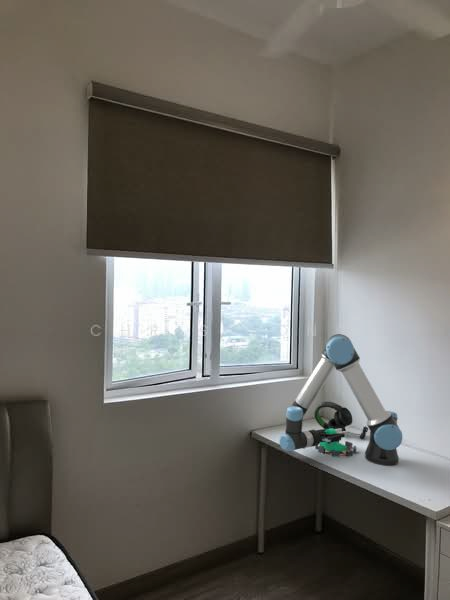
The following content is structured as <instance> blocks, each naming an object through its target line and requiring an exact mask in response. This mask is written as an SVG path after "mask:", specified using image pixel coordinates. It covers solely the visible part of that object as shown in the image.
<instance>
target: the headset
mask: <svg viewBox="0 0 450 600" xmlns="http://www.w3.org/2000/svg"><path fill="white" fill-rule="evenodd" d="M322 408H330V409H334V410H335V412H334V414H333V418H331V419H329V420H328V423H327V422H325V421H324V419H322V417H321V415H320V413H319V412H320V409H322ZM314 418H315V420H316V423H317V424H318V425H319V426H321V428H322V429H329V428H331V429H340V428H341V429H342V432H343V431H347V430H346V427H348V426H351V425H352V423H353V414H352V413H351V411H350V410H349V409H348V408H347V407H345V406H344V407H343V406H341V405H339V404H338V403H335V402H333V401H323V402H320V403H319V404H318V405H317V406H316V408H315V410H314ZM368 431H369V428H368V426H367V425H365V426H363V428H362V432H361V433H355V436H356V435H357V436H358V435H359V439H360V440H364V439H365V438H366V436H367V433H368ZM348 434H352V435H354V433H353V432H350V431H348Z"/></svg>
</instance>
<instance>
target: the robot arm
mask: <svg viewBox="0 0 450 600" xmlns="http://www.w3.org/2000/svg"><path fill="white" fill-rule="evenodd" d="M360 360H361V358H360V356H359V354H358V352H357V351H356V349H355V347H354V345H353V343H352V340H351V339H350V338H349V337H348V336H346V335H345V334H342V333H339V334H338V333H337V334H334V335H332V336H330V337H329V339H328V340H327V343H326V345H325V347H324V349H323V351H322V352H321V358H320V360H319V361H318V363H317V364H316V366H315V368H314V369H313V371H312V373H311V374H310V375H309V377H308V379H307V380H306V382H305V383H304V385H303V387H302V388H301V390H300V391H299V393H298V395H296V396H297V397H296V398H295V399H294V401H293V402H292V404H291V405H290V406H289V407H287V409H286V413H285V432H284V434H281V436H280V438H279V440H278V441H279V446H280V448H281V449H282V450H283V451H285V452H291V451H292V452H293V451H296V450H301V449H303V450H304V449H307V448H312V447H313V448H314V447H315V446H317V445H318V446H319V445H320V444H319V443H320V442H324V441H327V443H328V444H330V443H331V442H336V441H339V442H340V441H342V439H343V438H348V437H349V430H346V431H343V432H342V429H341V428H340V429H335V431H336V434H327V433H326V432H325V431H326V429H324V428H321V429H316V430H315V429H311V430H310V429H309V430H303V423H304V422H303V420H304V417H305V415H306V413H307V412H308V410H309V408H310V407H311V405H312V403H314V401H315V399H316V398H317V395H318V394H319V393H320V391H321V390H322V388H323V386H324V385H325V383H326V382H327V380H328V378H330V376H331V374H332V372H333V371H334V369H335V370H336V371H338V372H340V373H342V375H343V377H344V379H345V381H346V382H347V385H348V386H349V388H350V390H351V392H352V393H353V395H354V396H355V400H356V401H357V402H358V404H359V406H360V408H361V410H362V411H363V413H364V415H365V416H366V418H367V422H366V427H367V428H368V430H369V431H370V432H369V442H368V445H367V446H366V449H365V452H364V458H365V460H367V461H368V462H371V463H374V464H376V465H382V466H396V465H398V464H399V459H400V458H399V455H398V450H397V448H398V447H400V445H402V442H403V432H402V430H401V429H400V426H399V425H398V413H396V412H394V411H391V410H386V409H385V408H384V405H383V404H382V402H381V400H380V399H379V396H378V395H377V393H376V391H375V389H374V387H373V386H372V384H371V383H370V380H369V379H368V377H367V375H366V374H365V372H364V370H363V368H362V367H361V365H360ZM329 429H331V428H329Z"/></svg>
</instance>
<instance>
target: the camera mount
mask: <svg viewBox="0 0 450 600" xmlns="http://www.w3.org/2000/svg"><path fill="white" fill-rule="evenodd" d="M325 432H326V433H327V434H336V431H335V429H326V431H325ZM320 445H322V446H324V448H326V450H328V451H330V452H332V450H335V451H344V450H347V446H345V444H342V443H340V442H339V443H338V442H331V443H330V444H328V443H327V441H324V442H320V444H319V446H320Z"/></svg>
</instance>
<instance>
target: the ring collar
mask: <svg viewBox="0 0 450 600" xmlns="http://www.w3.org/2000/svg"><path fill="white" fill-rule="evenodd" d="M336 442H338V443H340V441H336ZM344 442H345V444H344V445H345V446H347V450H344V451H335V450H332V452H330V451H328V450H326V448H324V446H322V445H320V443H319V444H318V445H317V446H314V447H315V449H316V450H317V452H318V453H321V454H322V455H325V454H327V455H330V456H331V457H333V458H334V457H336V458H340V457H345V458H346V457H347V458H349V457H353V456H354V454H357V446H356V445H353V442H351V441H348V440H346V441H344Z"/></svg>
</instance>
